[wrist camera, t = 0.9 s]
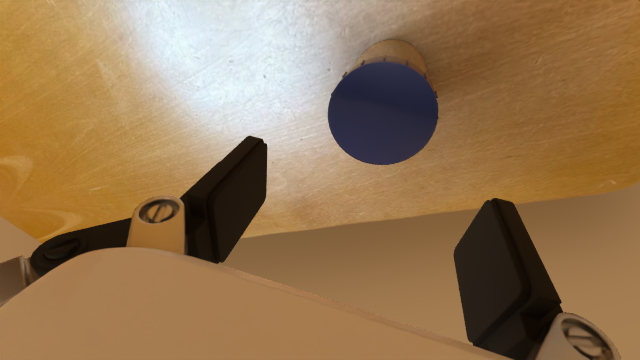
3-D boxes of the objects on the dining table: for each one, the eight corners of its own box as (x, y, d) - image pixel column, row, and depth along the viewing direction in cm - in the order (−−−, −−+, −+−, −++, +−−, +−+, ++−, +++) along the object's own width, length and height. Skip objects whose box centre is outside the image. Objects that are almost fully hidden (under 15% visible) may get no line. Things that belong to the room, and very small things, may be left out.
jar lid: (454, 67, 16) (458, 74, 15) (415, 163, 20) (416, 176, 19) (342, 45, 17) (336, 50, 16) (326, 141, 21) (320, 151, 20)
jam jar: (437, 47, 23) (451, 76, 16) (412, 118, 27) (413, 169, 19) (362, 32, 24) (341, 53, 16) (347, 104, 28) (325, 147, 20)
